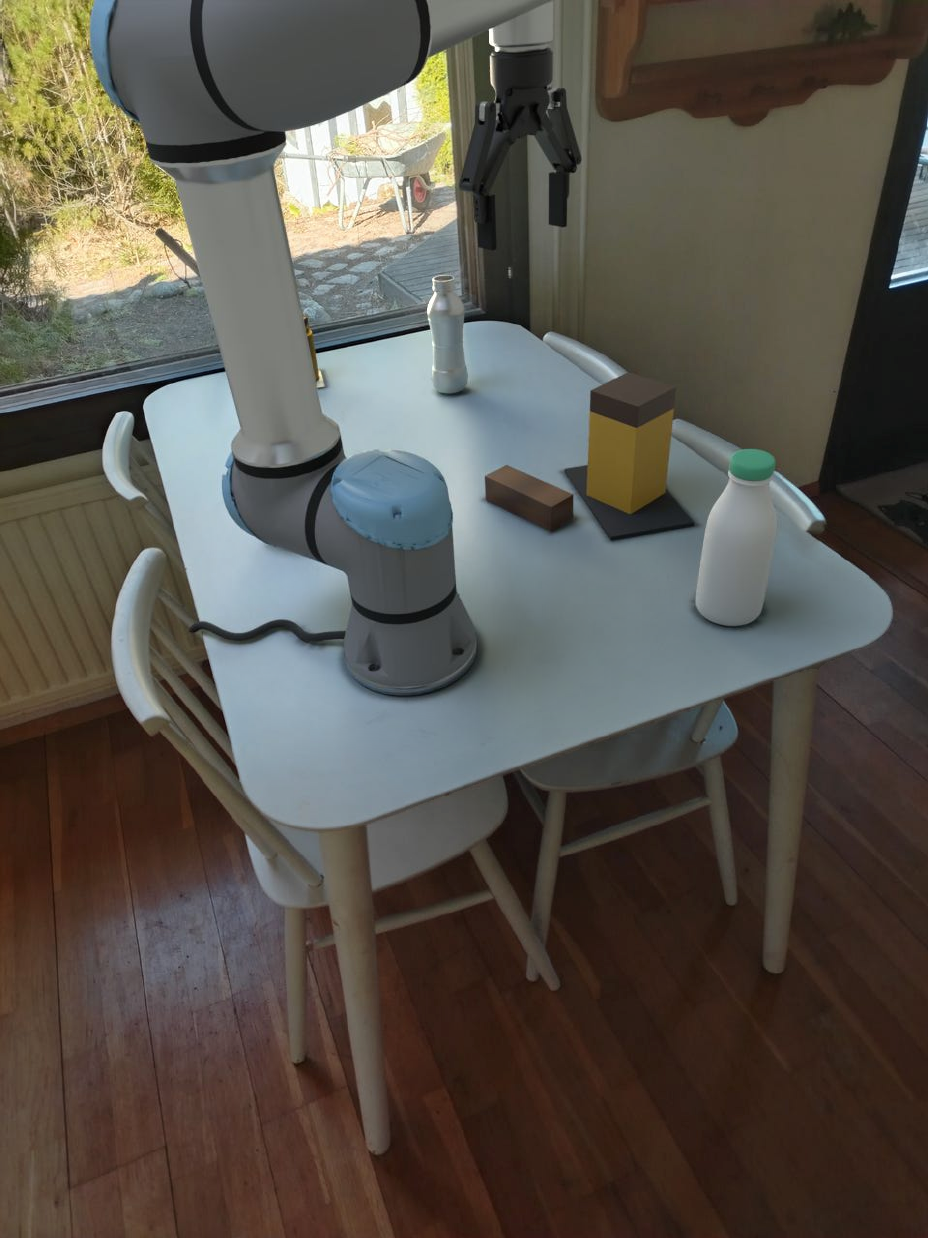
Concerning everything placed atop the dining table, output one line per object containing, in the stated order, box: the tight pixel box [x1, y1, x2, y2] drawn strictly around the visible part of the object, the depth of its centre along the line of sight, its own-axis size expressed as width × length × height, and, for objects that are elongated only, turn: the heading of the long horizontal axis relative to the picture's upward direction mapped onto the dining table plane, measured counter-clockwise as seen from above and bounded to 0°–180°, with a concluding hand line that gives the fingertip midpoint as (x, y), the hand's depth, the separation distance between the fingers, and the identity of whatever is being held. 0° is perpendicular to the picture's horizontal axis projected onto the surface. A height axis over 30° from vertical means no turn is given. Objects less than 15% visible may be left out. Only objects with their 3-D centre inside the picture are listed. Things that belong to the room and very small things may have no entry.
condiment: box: [303, 313, 325, 389], centre depth 160 cm, size 7×8×12 cm
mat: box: [563, 464, 695, 541], centre depth 123 cm, size 12×20×1 cm, turn 13°
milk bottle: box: [694, 448, 778, 627], centre depth 96 cm, size 8×8×20 cm
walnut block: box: [484, 464, 575, 533], centre depth 121 cm, size 13×4×4 cm, turn 43°
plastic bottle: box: [426, 274, 469, 394], centre depth 150 cm, size 6×7×20 cm
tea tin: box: [587, 371, 677, 514], centre depth 118 cm, size 16×8×8 cm
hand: (523, 236), depth 115 cm, fingers open, 13 cm apart
